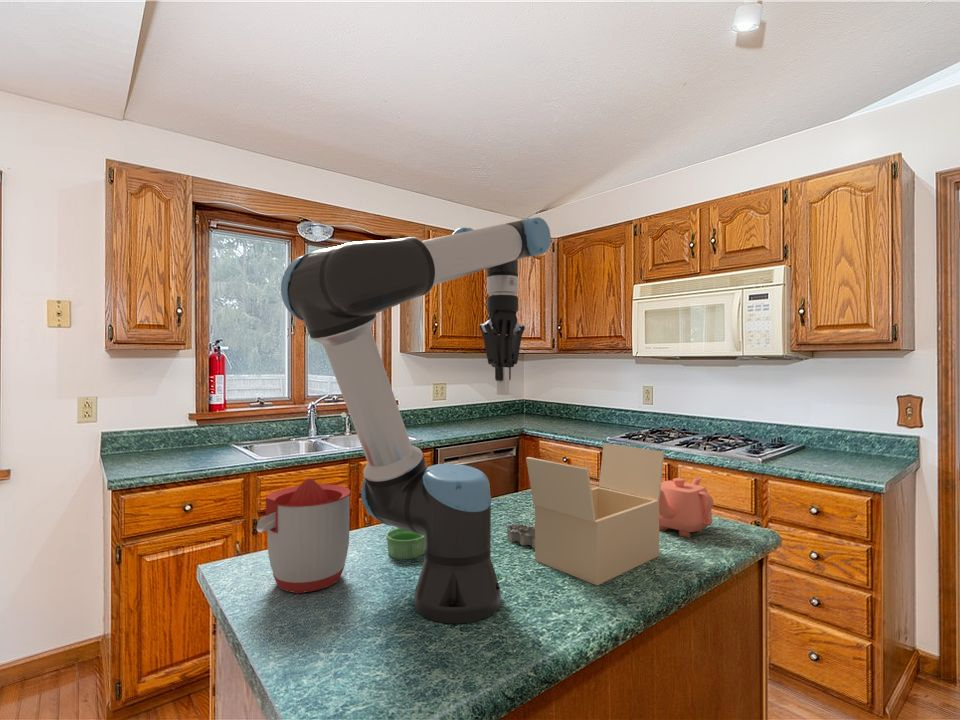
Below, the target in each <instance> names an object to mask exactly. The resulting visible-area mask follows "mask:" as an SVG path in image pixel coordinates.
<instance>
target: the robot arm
mask: <svg viewBox="0 0 960 720" xmlns="http://www.w3.org/2000/svg"><path fill="white" fill-rule="evenodd" d="M551 242H552V235H551V230H550V227H549V224H548V222H547V221H545V220H544V219H543V218H541V217H530V218H529V217H528V218H525V219H521V220H517V221H516V220H515V221H512V222H507V223H502V224H497V225H491V226H488V227H483V228H477V229H473V228H471V227H459V228H456V229H455V230H454V232H452V234H449V235H444V236H439V237H434V238H429V239H425V240H421V239H420V238H417V237H413V236H408V237H407V236H406V237H402V238H395V239H385V240H382V239H381V240H362V241H361V240H360V241H352V242H346V243H344V244H341V245H337V246H332V247H328V248H322V249H318V250H312V251H309V252H307V253H305V254H303V255H301V256H299V257H297V258H295V259H293V261H291V262H290V263H289V265H288V266H287V267H286V268H285V271H284V274H283V275H282V278H281V284H280V293H281V299H282V302H283V304H284V306H285V307H286V309H287V311H288V312H289V313H290V314H291V315H292V316H293V317H295V318H297V319H298V320H300V321H302V322H304V325H305V327H306V330H307V332H308V334H309V337H310V339H311V341H314V342H317V343H318V344H321V345H322V346H323V347H324V351H325V353H326V355H327V358H328V362H329V363H330V366H331V369H332V371H333V374H334V377H335V380H336V382H337V385H338V387H339V390H340V393H341V395H342V398H343V400H344V403H345V406H346V409H347V411H348V414H349V417H350V419H351V422H352V424H353V427H354V430H355V432H356V435H357V438H358V441H359V443H360V445H361V448H362V451H363V454H364V456H365V459H366V462H367V463H366V465H365V466H364V468H363V480H362V484H363V486H362V487H361V490H360V496H361V501H362V505H363V507H364V509H365V510H366V512H367V513H368V514H369V515H370V517H372V518H373V519H375V520H377V521H378V522H381V523H382V524H383V525H385V526H391V527H394V528H401V529H404V530H408V531H411V532H414V533H417V534H421V535H424V547H425V552H424V559H423V563H422V567H421V570H420V574H419V577H418V581H417V585H416V587H415V589H414V607H415V610H416V611H417V613H418V614H420V616H423V617H424V618H426V619H429V620H431V621H435V622H439V623H442V624H443V623H444V624H468V623H472V622H477V621H480V620H483V619H487V618H488V617H491V616H492V615H493V614H495V613H496V612H497V611H498V610H499V609H500V607H501V602H502V600H501V599H502V593H501V587H500V583H499V581H498V577H497V573H496V570H495V568H494V565H493V562H492V558H491V557H492V556H491V541H492V540H491V539H492V538H491V529H492V527H491V526H492V525H491V517H492V516H491V515H492V514H491V511H492V508H491V506H492V495H491V488H490V487H491V486H490V481H489V478H488V476H487V475H486V473H484V472H483V471H482V470H480V469H478V468H476V467H473V466H470V465H465V464H455V463H437V464H433V465H430V466H428V465H427V462H426V460H425V456H424V453H423V451H422V449H420V448H419V447H417V446H414V445H413V444H412V443H411V439H410V438H409V437H410V436H409V435H408V431H407V429H406V426H405V424H404V420H403V417H402V415H401V412H400V408H399V406H398V403H397V400H396V398H395V395H394V391H393V388H392V386H391V383H390V379H389V377H388V375H387V372H386V369H385V366H384V363H383V360H382V358H381V354H380V351H379V349H378V345H377V343H376V340H375V336H374V334H373V332H372V327H373V326H374V324H375V322H376V320H377V315H376V314H377V313H381V312H383V311H385V310H388V309H391V308H393V307H395V306H398V305H401V304H403V303H407V302H408V301H411V300H413V299H416V298H419V297H422V296H425V295H427V294H428V293H429V292H431V291H432V289H433V287H434V286H436V285H439V284H442V283H446V282H448V281H453V280H456V279H458V278H462V277H464V276H465V277H466V276H468V275H472V274H474V273H478V272H481V271H484V270H486V294H487V295H488V296H487V298H486V311H487V312H488V316H487V318H486V319H487V320H486V321H485V322H484V323H480V324H479V330H480V331H481V334H482V337H483V342H484V347H485V349H484V350H485V352H486V353H485V354H486V358H487V363H488V365H491V367H492V368H494V377H495V379H494V380H495V381H496V395H498V396H509V395H510V381H511V377H512V373H511V372H512V371H511V370H512V368H513V367H514V366H515V365H517V364H518V361H519V354H520V348H521V343H522V337H523V335H524V331H525V330H526V327H525V325H521V324H520V323H519V322H518V320H519V319H518V316H517V312H518V311H519V297H518V296H517V294H519V273H518V272H519V260H521V259H524V258H530V257H531V258H532V257H533V258H534V257H536V256H539V255H543V254H546V253H547V252H548V251H549V250H550V246H551Z"/></svg>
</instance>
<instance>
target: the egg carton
mask: <svg viewBox="0 0 960 720" xmlns="http://www.w3.org/2000/svg"><path fill="white" fill-rule="evenodd" d="M504 527H505V528H506V534H507V535H506V537H507V538H506V539H507V541H508V543H509V542H510V543H514V542H515V541H518V543H519V545H520V544H521V546H527V545H530V546H532V548H533V549H535V524H534V525H531V524H525V525H524V523H521V522H518V523H517V522H515V523H514V524H508V525H504Z"/></svg>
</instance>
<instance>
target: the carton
mask: <svg viewBox="0 0 960 720" xmlns="http://www.w3.org/2000/svg"><path fill="white" fill-rule="evenodd" d="M591 490H592V497H593V504H594V511H595V518H596V521H595V522H592V521H589V520H585V519H582V518H578V517H575V516H571V515H568V514H564V513H561V512H558V511H554V510H551V509H547V508H544V507H540V506H537V505H534V526H535V548H534V561H536V562H537V563H540V564H543V565H545V566H548V567H550V568H551V569H552V568H553V569H555V570H557V571H560V572H563V573H565V574H568V575H570V576H572V577H575V578H577V579H580V580H583V581H586V582H588V583H590V584H593V585H595V586H599V585H601V584H604V583H606V582H607V581H609V580H612V579H614V578H616V577H617V576H620V575H622V574H625V573H627V572H628V571H631V570H633V569H634V568H637V567H639V566H641V565H643V564H646V563H647V562H650V561H651V560H653V559H656V558H658V557H659V556H660V530H659V501H658V500H654V499H649V497H644V496H640V495H635V494H631V493H627V492H622V491H618V490H613V489H609V488H604V487H600V486H598V487H596V488H592V489H591Z"/></svg>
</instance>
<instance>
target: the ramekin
mask: <svg viewBox="0 0 960 720" xmlns="http://www.w3.org/2000/svg"><path fill="white" fill-rule="evenodd" d="M385 538H386V540H387V552H388V555H389V556H390V557H392V558H393V559H396V560H412V559H416V558H419V557H421V556H422V555H424V554H425V547H424V535H421V534H417V533H414V532H411V531H408V530H404V529H401V528H398V527H396V528H394V529H391V530H389V531H388V532H386V533H385Z"/></svg>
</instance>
